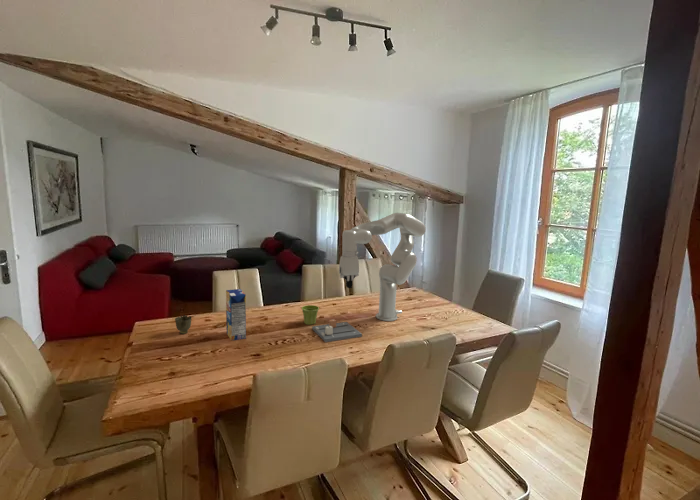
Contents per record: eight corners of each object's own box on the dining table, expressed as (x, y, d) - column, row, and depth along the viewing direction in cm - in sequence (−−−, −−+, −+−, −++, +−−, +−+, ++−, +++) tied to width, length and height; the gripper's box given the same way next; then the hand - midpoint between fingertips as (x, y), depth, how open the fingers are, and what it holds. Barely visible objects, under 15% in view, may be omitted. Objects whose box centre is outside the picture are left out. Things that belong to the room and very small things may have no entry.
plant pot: (315, 326, 198) (316, 311, 197) (298, 325, 200) (299, 309, 198) (320, 321, 207) (321, 306, 206) (304, 319, 209) (304, 304, 208)
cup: (195, 331, 185) (194, 316, 184) (184, 336, 178) (183, 321, 177) (183, 329, 187) (182, 314, 186) (172, 334, 180) (171, 318, 179)
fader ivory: (330, 332, 186) (330, 325, 186) (332, 334, 184) (332, 327, 184) (325, 333, 185) (325, 326, 184) (327, 335, 183) (327, 328, 182)
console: (346, 324, 204) (346, 320, 203) (361, 336, 188) (362, 331, 187) (312, 329, 195) (312, 324, 194) (325, 342, 179) (325, 337, 178)
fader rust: (334, 325, 196) (334, 319, 195) (336, 327, 194) (336, 320, 193) (329, 326, 194) (329, 319, 194) (330, 327, 192) (331, 321, 192)
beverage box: (231, 340, 176) (231, 296, 172) (226, 332, 185) (226, 290, 182) (245, 338, 179) (245, 294, 176) (240, 330, 189) (240, 288, 185)
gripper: (358, 251, 201) (358, 284, 204) (333, 253, 194) (333, 287, 198) (365, 254, 194) (364, 287, 198) (339, 256, 188) (339, 291, 191)
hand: (349, 287), depth 198 cm, fingers closed
